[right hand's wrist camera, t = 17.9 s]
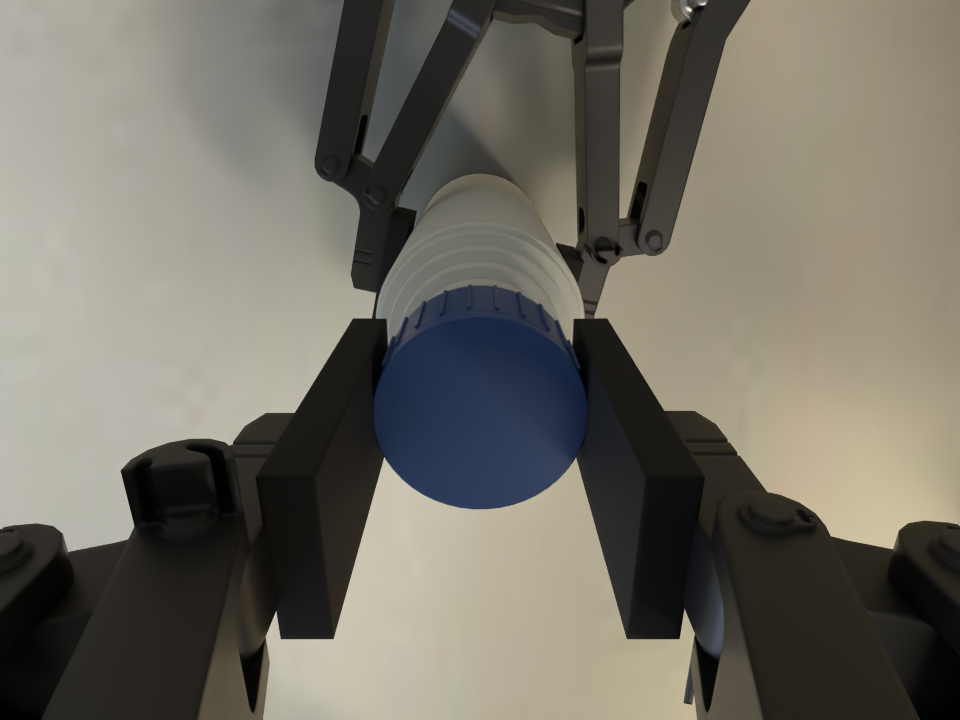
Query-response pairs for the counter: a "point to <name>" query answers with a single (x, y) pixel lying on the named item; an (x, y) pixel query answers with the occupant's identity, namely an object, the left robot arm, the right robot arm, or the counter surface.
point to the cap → (480, 399)
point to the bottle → (480, 253)
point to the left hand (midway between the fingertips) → (453, 380)
